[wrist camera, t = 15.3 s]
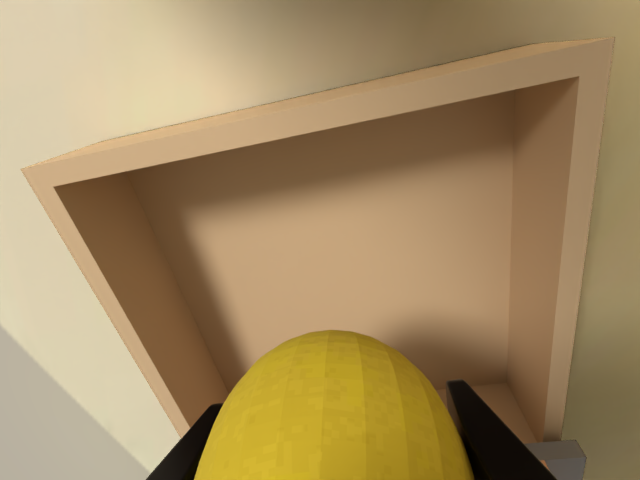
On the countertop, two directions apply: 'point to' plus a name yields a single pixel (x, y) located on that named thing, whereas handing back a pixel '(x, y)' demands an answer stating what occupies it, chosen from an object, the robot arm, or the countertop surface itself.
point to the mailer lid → (561, 458)
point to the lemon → (334, 417)
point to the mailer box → (355, 228)
